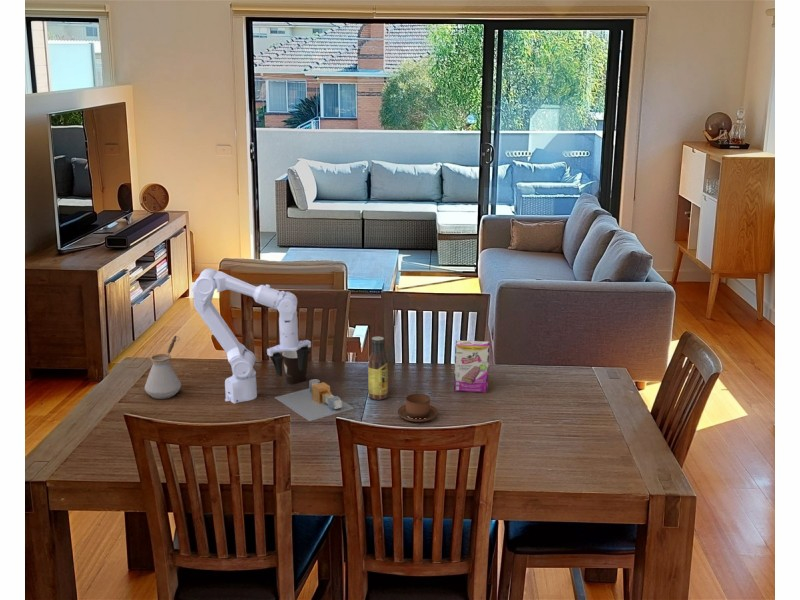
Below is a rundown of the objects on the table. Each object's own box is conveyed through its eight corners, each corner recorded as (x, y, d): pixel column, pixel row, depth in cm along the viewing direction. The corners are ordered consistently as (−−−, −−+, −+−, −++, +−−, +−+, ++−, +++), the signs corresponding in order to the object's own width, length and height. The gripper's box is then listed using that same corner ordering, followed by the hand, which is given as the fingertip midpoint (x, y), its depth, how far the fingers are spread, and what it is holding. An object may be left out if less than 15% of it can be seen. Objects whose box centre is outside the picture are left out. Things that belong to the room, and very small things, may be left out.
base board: (309, 425, 262) (309, 421, 261) (274, 401, 279) (274, 397, 278) (354, 412, 271) (354, 408, 270) (317, 390, 288) (317, 386, 287)
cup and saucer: (392, 412, 272) (392, 393, 270) (428, 406, 276) (428, 388, 274) (406, 427, 261) (406, 408, 259) (443, 421, 265) (443, 402, 263)
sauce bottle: (385, 401, 279) (385, 342, 273) (366, 400, 280) (365, 341, 274) (389, 393, 285) (389, 335, 279) (371, 392, 286) (370, 334, 281)
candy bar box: (453, 392, 286) (454, 344, 282) (454, 386, 291) (455, 339, 286) (488, 393, 285) (489, 346, 281) (488, 387, 290) (489, 340, 285)
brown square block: (312, 399, 276) (312, 385, 275) (323, 396, 279) (323, 382, 277) (319, 403, 273) (319, 389, 272) (330, 400, 276) (330, 386, 274)
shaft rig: (334, 412, 267) (334, 401, 266) (301, 391, 283) (300, 381, 282) (349, 408, 270) (349, 397, 269) (316, 387, 286) (316, 377, 285)
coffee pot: (174, 402, 278) (171, 357, 274) (139, 400, 280) (135, 356, 275) (196, 377, 299) (193, 335, 294) (163, 375, 300) (159, 334, 296)
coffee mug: (307, 386, 291) (306, 358, 288) (281, 386, 291) (280, 357, 288) (311, 373, 302) (311, 346, 299) (286, 373, 302) (285, 345, 299)
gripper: (273, 339, 266) (275, 381, 270) (315, 330, 274) (316, 371, 278) (263, 333, 272) (265, 374, 276) (304, 324, 280) (305, 364, 284)
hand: (290, 372), depth 277 cm, fingers open, 7 cm apart
